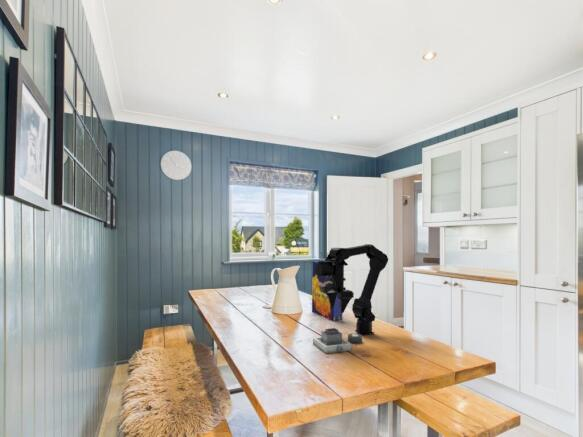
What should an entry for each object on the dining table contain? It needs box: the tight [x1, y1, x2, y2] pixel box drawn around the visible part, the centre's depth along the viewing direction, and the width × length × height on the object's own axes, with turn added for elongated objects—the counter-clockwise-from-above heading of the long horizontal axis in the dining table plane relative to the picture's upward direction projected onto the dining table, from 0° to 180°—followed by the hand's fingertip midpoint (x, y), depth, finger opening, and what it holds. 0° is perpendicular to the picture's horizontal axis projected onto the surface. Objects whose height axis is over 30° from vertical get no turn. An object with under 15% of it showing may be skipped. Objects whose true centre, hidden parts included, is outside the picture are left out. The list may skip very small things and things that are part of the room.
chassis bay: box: [312, 336, 352, 354], centre depth 133 cm, size 12×15×2 cm
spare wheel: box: [347, 333, 363, 345], centre depth 141 cm, size 6×6×3 cm
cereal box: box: [311, 260, 343, 322], centre depth 184 cm, size 22×6×30 cm, turn 28°
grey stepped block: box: [320, 327, 343, 346], centre depth 133 cm, size 7×5×6 cm
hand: (337, 310), depth 146 cm, fingers open, 9 cm apart
